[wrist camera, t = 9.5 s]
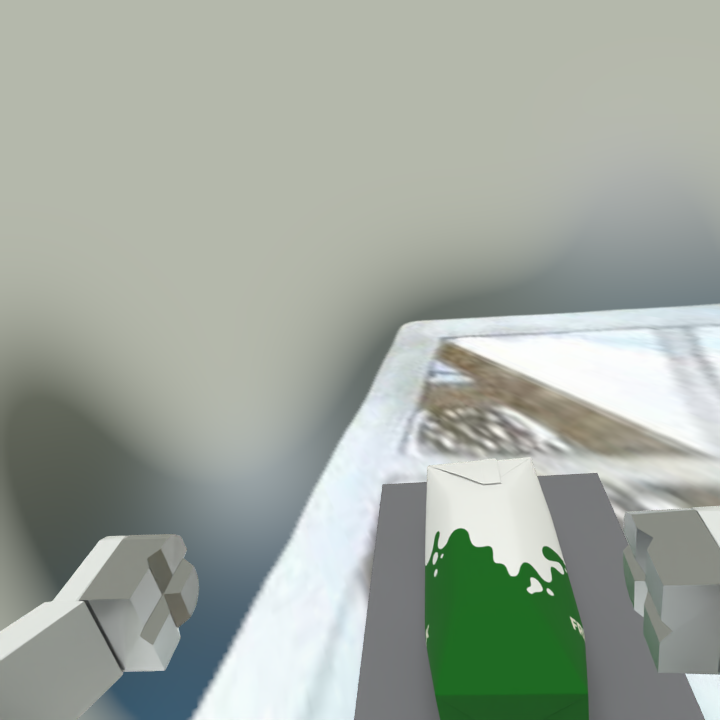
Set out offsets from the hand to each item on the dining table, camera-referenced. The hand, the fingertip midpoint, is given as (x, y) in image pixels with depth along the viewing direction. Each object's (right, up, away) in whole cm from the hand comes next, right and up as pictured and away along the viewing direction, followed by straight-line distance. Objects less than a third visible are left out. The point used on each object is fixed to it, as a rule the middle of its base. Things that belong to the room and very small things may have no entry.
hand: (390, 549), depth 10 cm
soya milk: (+7, -15, +17) cm, 24 cm away
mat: (+10, -14, +32) cm, 36 cm away
